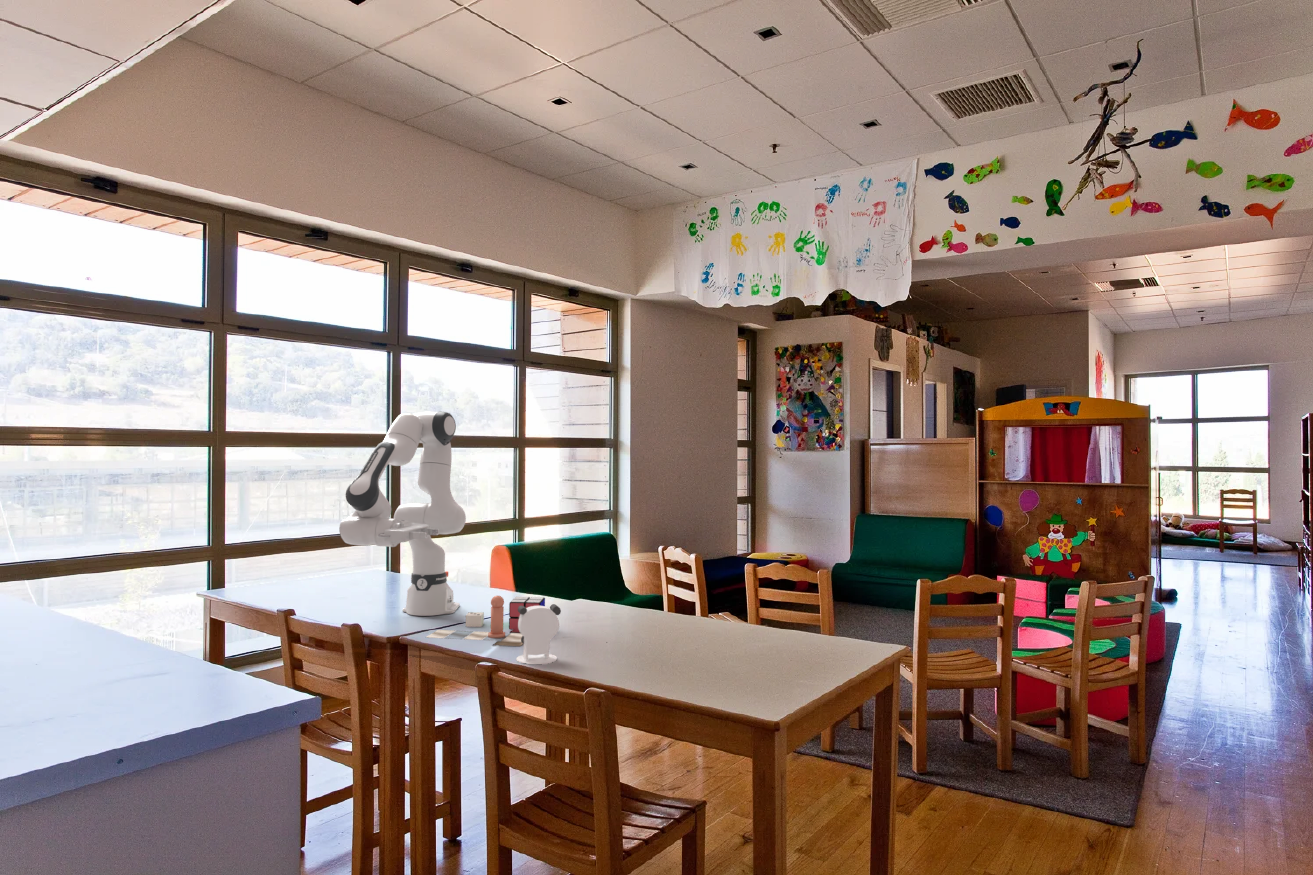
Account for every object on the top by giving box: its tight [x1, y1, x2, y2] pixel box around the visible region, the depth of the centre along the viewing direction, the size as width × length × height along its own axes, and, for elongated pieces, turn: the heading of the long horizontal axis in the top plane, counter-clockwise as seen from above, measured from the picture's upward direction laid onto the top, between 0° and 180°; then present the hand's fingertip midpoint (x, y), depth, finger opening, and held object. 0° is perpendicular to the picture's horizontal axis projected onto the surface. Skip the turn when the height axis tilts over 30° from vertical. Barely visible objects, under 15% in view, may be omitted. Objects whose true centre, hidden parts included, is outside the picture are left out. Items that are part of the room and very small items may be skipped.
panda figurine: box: [515, 603, 562, 665], centre depth 227 cm, size 12×11×15 cm
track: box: [425, 629, 524, 647], centre depth 248 cm, size 11×30×1 cm, turn 83°
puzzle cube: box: [508, 596, 546, 633], centre depth 263 cm, size 10×10×10 cm
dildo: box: [488, 595, 506, 638], centre depth 248 cm, size 5×5×12 cm
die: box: [465, 611, 485, 628], centre depth 263 cm, size 5×5×5 cm
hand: (432, 533), depth 252 cm, fingers open, 8 cm apart
